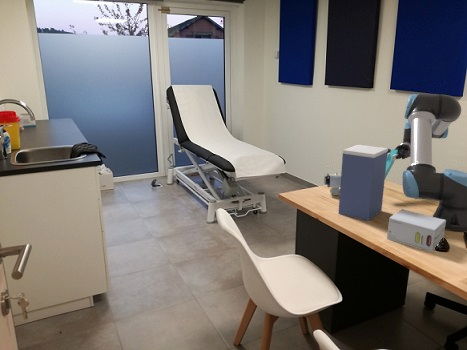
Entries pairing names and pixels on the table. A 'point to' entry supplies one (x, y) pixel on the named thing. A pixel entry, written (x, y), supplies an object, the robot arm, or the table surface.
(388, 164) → the bar
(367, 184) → the pedestal
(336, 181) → the pneumatic valve
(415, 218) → the supplement box
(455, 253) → the table surface
